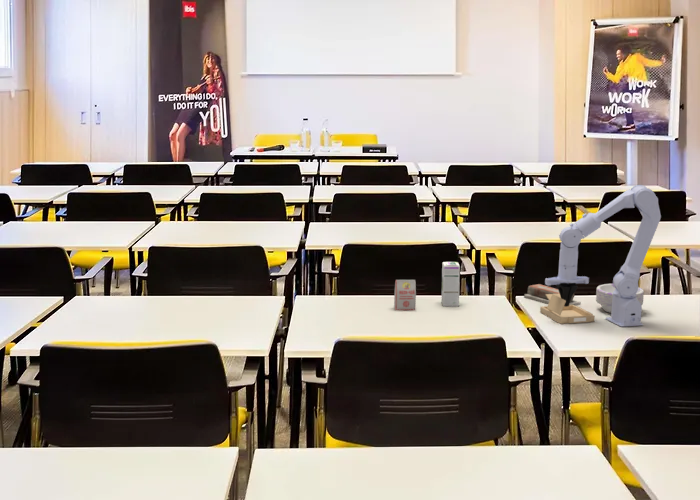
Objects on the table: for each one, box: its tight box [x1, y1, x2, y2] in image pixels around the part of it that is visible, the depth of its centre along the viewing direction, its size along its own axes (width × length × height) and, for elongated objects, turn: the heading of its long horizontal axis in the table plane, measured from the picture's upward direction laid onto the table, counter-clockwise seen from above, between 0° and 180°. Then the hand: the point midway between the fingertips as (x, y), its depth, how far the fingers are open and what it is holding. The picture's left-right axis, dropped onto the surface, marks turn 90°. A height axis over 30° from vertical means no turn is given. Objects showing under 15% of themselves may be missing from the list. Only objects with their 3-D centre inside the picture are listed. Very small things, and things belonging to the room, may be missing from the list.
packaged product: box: [523, 283, 582, 306], centre depth 298 cm, size 18×5×10 cm
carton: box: [539, 305, 596, 325], centre depth 278 cm, size 15×12×2 cm
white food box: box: [393, 279, 417, 311], centre depth 285 cm, size 4×7×10 cm, turn 93°
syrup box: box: [441, 261, 461, 307], centre depth 291 cm, size 6×6×14 cm
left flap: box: [546, 294, 566, 315], centre depth 274 cm, size 8×1×5 cm, turn 15°
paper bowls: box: [595, 283, 645, 314], centre depth 285 cm, size 15×15×8 cm
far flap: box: [546, 294, 561, 301], centre depth 287 cm, size 1×6×5 cm
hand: (565, 305), depth 275 cm, fingers closed
